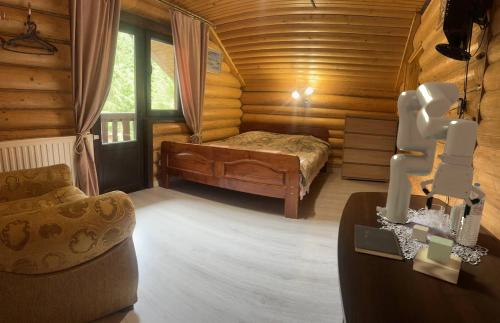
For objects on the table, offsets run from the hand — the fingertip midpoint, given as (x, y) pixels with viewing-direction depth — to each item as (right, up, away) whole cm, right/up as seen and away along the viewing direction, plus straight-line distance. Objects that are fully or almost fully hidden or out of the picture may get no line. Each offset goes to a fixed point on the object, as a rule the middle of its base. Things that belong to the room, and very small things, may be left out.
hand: (446, 212), depth 97 cm
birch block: (-1, -19, +3) cm, 20 cm away
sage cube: (-1, -15, +3) cm, 16 cm away
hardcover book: (-14, -16, +21) cm, 30 cm away
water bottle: (+23, -17, +25) cm, 38 cm away
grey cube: (+6, -15, +27) cm, 31 cm away
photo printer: (+31, -15, +39) cm, 52 cm away
